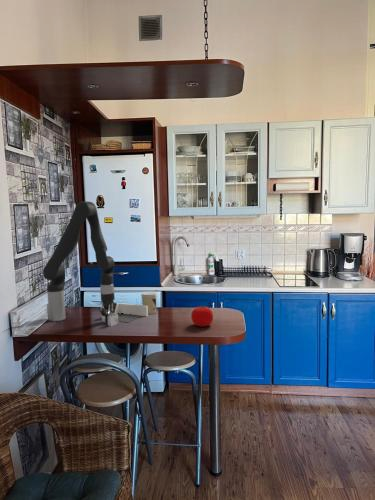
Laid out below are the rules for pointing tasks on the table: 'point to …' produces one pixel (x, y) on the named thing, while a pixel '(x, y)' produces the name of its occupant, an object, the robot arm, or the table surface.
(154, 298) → the coffee cup
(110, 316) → the bracket
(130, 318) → the mat
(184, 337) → the table surface
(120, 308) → the corner wall
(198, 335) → the table surface
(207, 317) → the tomato
